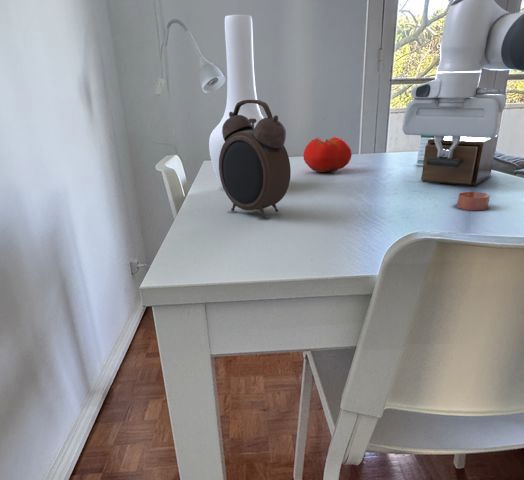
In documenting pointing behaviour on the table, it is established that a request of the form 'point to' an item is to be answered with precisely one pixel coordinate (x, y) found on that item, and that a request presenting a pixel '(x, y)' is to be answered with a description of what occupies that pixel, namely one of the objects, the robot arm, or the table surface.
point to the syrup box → (422, 149)
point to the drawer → (450, 164)
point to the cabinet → (483, 158)
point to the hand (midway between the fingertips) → (444, 158)
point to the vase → (236, 79)
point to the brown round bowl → (473, 201)
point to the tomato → (327, 154)
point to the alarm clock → (254, 160)
